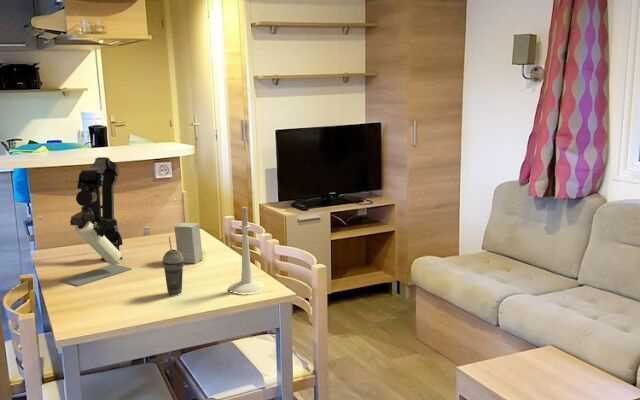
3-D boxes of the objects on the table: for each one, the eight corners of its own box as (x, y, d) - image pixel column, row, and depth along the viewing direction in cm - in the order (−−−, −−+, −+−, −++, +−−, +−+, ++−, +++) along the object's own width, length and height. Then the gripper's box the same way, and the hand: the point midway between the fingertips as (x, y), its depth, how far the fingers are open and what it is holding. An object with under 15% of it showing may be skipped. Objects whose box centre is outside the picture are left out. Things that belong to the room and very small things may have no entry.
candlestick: (224, 285, 214) (221, 203, 208) (259, 281, 218) (257, 201, 213) (233, 297, 202) (230, 210, 197) (269, 292, 207) (267, 207, 201)
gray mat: (113, 265, 240) (113, 264, 240) (131, 269, 234) (131, 268, 234) (59, 281, 220) (59, 280, 220) (78, 286, 214) (77, 285, 214)
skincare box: (203, 260, 246) (201, 222, 243) (194, 264, 240) (192, 226, 237) (185, 258, 249) (183, 221, 246) (175, 263, 242) (173, 225, 239)
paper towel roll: (109, 254, 235) (76, 220, 220) (122, 250, 234) (90, 216, 219) (106, 268, 230) (72, 235, 215) (119, 264, 229) (86, 231, 214)
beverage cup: (174, 298, 201) (171, 241, 197) (159, 294, 205) (156, 238, 201) (190, 292, 207) (187, 236, 203) (175, 288, 211) (172, 234, 207)
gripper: (56, 204, 219) (59, 246, 220) (93, 206, 210) (95, 250, 212) (81, 201, 228) (83, 241, 230) (117, 203, 220) (119, 245, 221)
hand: (94, 244), depth 223 cm, fingers closed on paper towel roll, 3 cm apart
